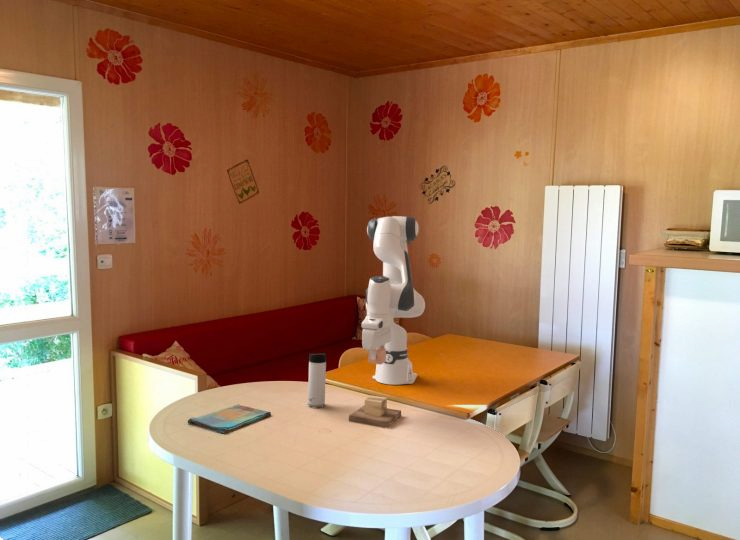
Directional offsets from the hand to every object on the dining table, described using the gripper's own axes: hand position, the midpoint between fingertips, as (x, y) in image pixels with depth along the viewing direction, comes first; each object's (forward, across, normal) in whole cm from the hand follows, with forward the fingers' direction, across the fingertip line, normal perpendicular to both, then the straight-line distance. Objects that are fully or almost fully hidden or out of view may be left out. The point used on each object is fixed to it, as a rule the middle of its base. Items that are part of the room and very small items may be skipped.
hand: (377, 357), depth 220 cm
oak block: (+17, +12, +5) cm, 21 cm away
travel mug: (+19, +9, -20) cm, 29 cm away
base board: (+19, +12, +5) cm, 23 cm away
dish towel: (+19, +37, -38) cm, 57 cm away
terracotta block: (+2, 0, 0) cm, 2 cm away
